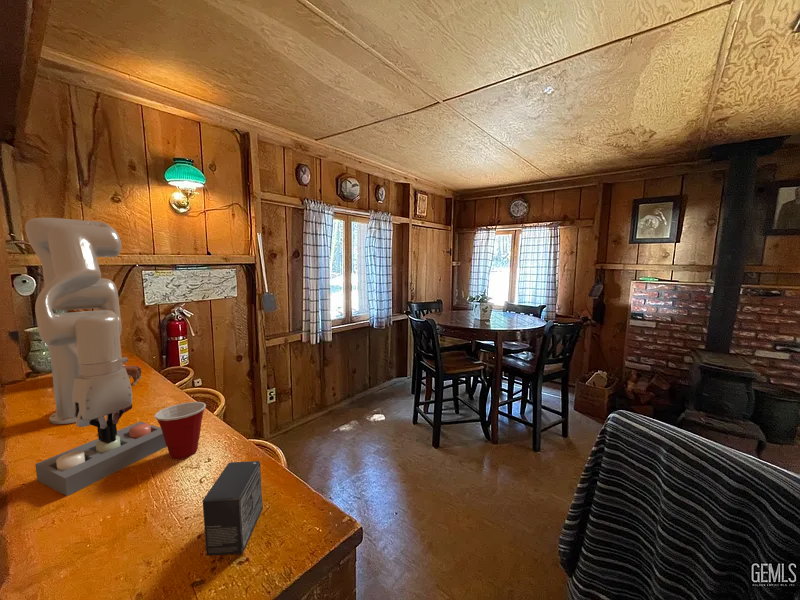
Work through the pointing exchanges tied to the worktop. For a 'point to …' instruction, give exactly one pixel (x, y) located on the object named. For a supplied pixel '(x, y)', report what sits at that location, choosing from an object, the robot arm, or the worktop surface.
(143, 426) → the brick button
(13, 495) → the worktop surface
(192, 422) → the plastic cup
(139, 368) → the bull figurine
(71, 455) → the ivory button
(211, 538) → the small box
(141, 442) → the panel
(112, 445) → the sage button
